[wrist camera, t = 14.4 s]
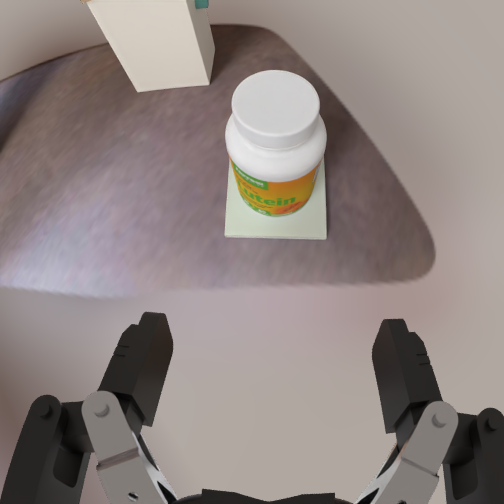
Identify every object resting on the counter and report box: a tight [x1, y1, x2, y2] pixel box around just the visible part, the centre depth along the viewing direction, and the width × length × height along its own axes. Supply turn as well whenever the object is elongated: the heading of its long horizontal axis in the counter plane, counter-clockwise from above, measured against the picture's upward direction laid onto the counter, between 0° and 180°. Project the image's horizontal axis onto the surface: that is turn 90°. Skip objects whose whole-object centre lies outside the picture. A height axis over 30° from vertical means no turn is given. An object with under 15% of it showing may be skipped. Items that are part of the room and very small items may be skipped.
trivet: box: [225, 155, 327, 240], centre depth 23 cm, size 7×8×1 cm
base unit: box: [80, 0, 215, 92], centre depth 20 cm, size 8×5×13 cm
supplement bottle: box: [225, 70, 327, 218], centre depth 18 cm, size 5×5×10 cm
